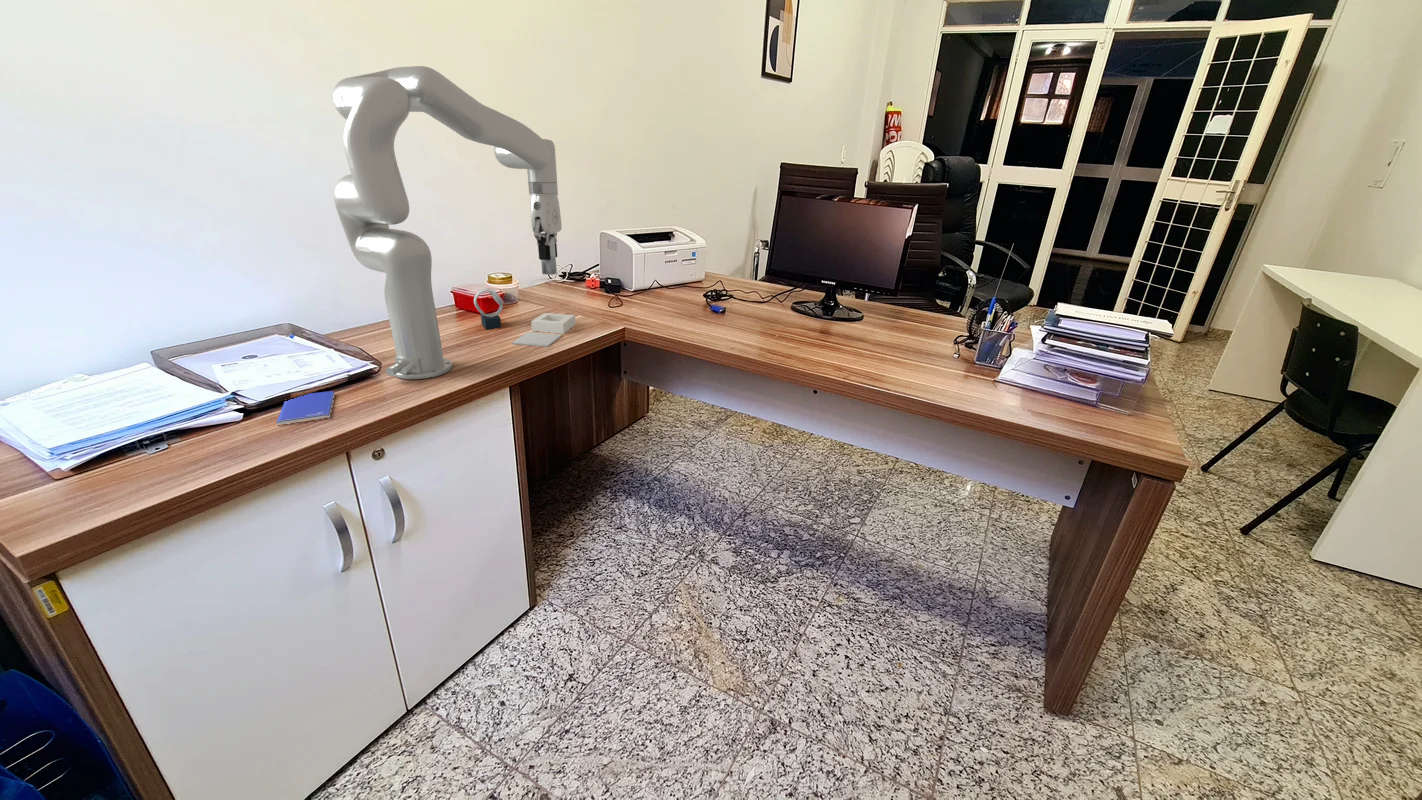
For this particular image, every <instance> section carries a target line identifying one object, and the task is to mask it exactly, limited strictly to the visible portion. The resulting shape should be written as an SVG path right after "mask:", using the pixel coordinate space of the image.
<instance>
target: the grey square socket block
mask: <svg viewBox="0 0 1422 800" xmlns="http://www.w3.org/2000/svg"><path fill="white" fill-rule="evenodd" d="M530 323H531V332H535V331H540V332H539V333H548V332H550V333H549V334H559V335H562V334H563V335H564V334H566V332H568V331H570V330H571V329H572V328H573V327H575V326H576V325H575V324H576V315H575V314H567V313H566V314H565V313H554V312H553V313H552V312H551V313H550V312H543V313H542V314H540V315H539V316H538V317H536V318H534V319H532V320H531V322H530ZM574 325H575V326H574ZM571 327H572V328H571ZM570 328H571V329H570Z"/></svg>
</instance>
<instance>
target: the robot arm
mask: <svg viewBox="0 0 1422 800" xmlns="http://www.w3.org/2000/svg"><path fill="white" fill-rule="evenodd" d="M332 103H333V105H334V107H335V109H336V111H337V112H338V113H339V115H340V116H341V117H342V118H344V119H345V120H346V122H345V125H344V128H343V129H344V130H343V135H342V136H343V147H344V152H345V153H344V154H345V157H346V160H347V163H348V164H347V165H348V168H349V171H350V174H347V175H344V176H343V177H341V178H340V179H339V180H338V182H337V183H336V184H335V188H334V192H333V193H334V195H333V199H334V205H335V208H336V212H337V214H338V217H339V220H340V223H341V225H342V228H343V231H344V233H345V236H346V239H347V241H348V244H349V247H350V249H351V251H352V253H353V255H354V257H355V258H356V260H357V261H358V263H360V264H361V265H362V266H363V267H365V268H366V269H368V270H369V269H370V270H372V271H375V272H380V273H385V283H384V289H383V290H384V292H383V293H384V294H383V295H384V300H385V301H384V302H385V306H386V310H387V314H388V318H389V319H388V320H389V325H390V329H391V333H392V339H393V343H394V349H395V355H396V356H395V357H394V360H395V362H394V363H393V365H391V366H389V367H387V368H386V369H385V373H386V375H388V377H393V376H394V377H396V378H398V379H404V380H423V379H430V377H431V378H435V377H439V376H441V375H443V374H446V373H448V372H449V371H450V370H452V368H453V364H452V361H451V360H450V359H448V358H446V357H444V352H443V346H442V341H441V335H440V334H441V333H440V329H439V321H438V317H437V311H436V305H435V299H434V292H433V284H432V263H433V262H432V261H433V259H432V257H433V256H432V253H431V250H430V247H429V245H428V244H427V242H426V241H425V240H424V239H423V238H421V237H420V236H419V235H417V234H415V233H413V232H410V231H406V230H400V229H394V228H390V226H391V225H393V226H395V225H398V224H401V223H403V222H405V221H406V220H407V219H408V217H409V214H410V203H409V199H408V195H407V191H406V189H405V185H404V182H403V180H402V179H403V178H402V176H401V173H400V168H399V166H398V162H397V161H398V160H397V157H396V153H395V141H396V140H395V139H396V136H397V133H398V131H399V129H400V127H401V126H402V124H403V123H404V122H405V120H407V118H408V117H409V115H410V112H411V113H413V112H415V113H417V112H419V113H420V112H421V113H425V114H426V115H429V116H430V117H432V118H434V119H435V120H436V121H438V122H439V123H441V124H443V126H445V127H447V128H449V129H450V130H452V131H453V132H455V133H456V134H458V135H459V136H461V137H462V138H464V139H467V140H468V141H471V142H476V143H479V144H483V145H487V146H492V147H493V148H494V149H493V151H494V153H493V154H494V156H495V159H496V160H497V162H498V163H499V164H501V165H502V166H504V167H506V168H509V169H515V170H518V169H519V170H527V171H526V172H527V185H528V194H529V195H530V221H531V229H532V230H531V231H532V232H533V236H534V237H535V239H536V245H537V250H538V259H539V261H541V260H551V254H550V245H548V236H552V237H554V240H555V255H556V258H557V257H558V247H557V246H558V244H557V242H558V239H557V236H558V233H559V232H560V231H562V229H563V227H562V217H561V209H560V208H561V207H560V202H559V197H558V196H559V189H558V188H559V187H558V175H557V159H556V145H555V143H554V141H553V140H550V139H548V138H547V139H546V138H542V137H541V136H540V135H538V134H537V133H536V132H535V131H534V130H532V129H531V128H529V127H528V126H527V125H525V124H524V123H522V122H520V121H518V120H517V119H515V118H513V117H511V116H508V115H506V114H503V113H501V112H499V111H498V110H495V109H494V108H491V107H489V106H487V105H484V104H482V103H481V102H479V101H478V100H477V99H475V98H474V97H473V96H472V95H470V94H468V93H467V92H466V91H465V90H463V89H462V88H461V87H459V86H458V85H457V84H456V83H454V82H452V81H451V80H450V79H448V78H447V77H446V76H445V75H443V74H442V73H440V72H439V71H438V70H435V69H434V68H433V67H432V68H431V67H428V66H424V65H416V66H415V65H414V66H398V67H393V68H387V69H385V70H384V69H383V70H380V71H379V70H378V71H375V72H370V73H366V74H360V75H355V76H350V77H346V78H343V79H341V80H339V81H338V82H336V85H335V86H334V88H333V90H332ZM529 195H528V196H529ZM543 236H545V239H544V237H543Z"/></svg>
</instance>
